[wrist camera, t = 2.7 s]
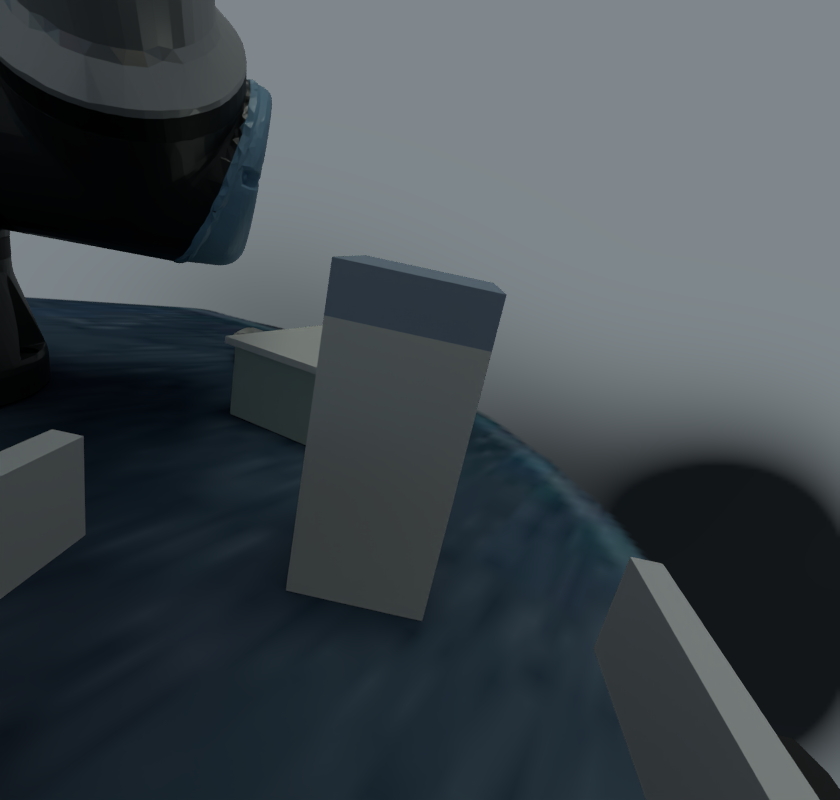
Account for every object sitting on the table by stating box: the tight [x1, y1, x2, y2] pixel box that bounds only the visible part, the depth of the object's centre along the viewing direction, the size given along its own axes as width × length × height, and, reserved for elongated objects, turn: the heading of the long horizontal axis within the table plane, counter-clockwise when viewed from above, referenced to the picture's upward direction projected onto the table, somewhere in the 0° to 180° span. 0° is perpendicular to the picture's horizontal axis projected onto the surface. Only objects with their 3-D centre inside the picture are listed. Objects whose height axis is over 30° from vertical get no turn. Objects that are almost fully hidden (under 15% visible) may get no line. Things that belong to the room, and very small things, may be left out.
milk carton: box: [286, 255, 506, 621], centre depth 21 cm, size 6×6×14 cm
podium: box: [225, 325, 323, 445], centre depth 39 cm, size 15×15×6 cm
